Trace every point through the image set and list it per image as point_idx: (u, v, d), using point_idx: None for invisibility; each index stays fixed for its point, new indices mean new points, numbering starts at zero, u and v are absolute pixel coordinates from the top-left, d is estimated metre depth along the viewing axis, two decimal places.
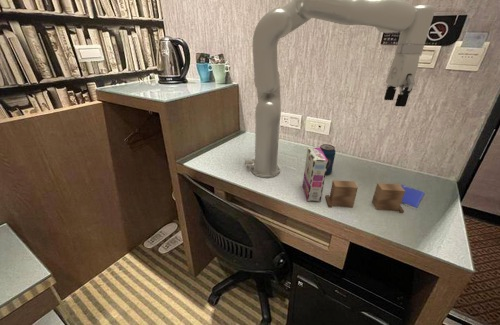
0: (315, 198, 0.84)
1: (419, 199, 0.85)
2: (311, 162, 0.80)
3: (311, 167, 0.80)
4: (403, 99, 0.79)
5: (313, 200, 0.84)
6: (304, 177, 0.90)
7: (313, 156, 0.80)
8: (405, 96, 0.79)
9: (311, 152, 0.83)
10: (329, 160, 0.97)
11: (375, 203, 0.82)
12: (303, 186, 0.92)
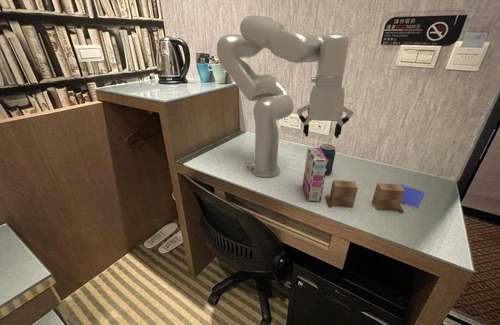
0: (315, 198, 0.84)
1: (419, 199, 0.85)
2: (311, 162, 0.80)
3: (311, 167, 0.80)
4: None
5: (313, 200, 0.84)
6: (304, 177, 0.90)
7: (313, 156, 0.80)
8: None
9: (311, 152, 0.83)
10: (329, 160, 0.97)
11: (375, 203, 0.82)
12: (303, 186, 0.92)
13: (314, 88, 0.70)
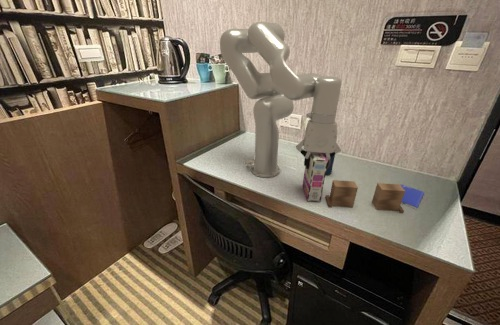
0: (316, 198, 0.84)
1: (419, 199, 0.85)
2: (311, 162, 0.80)
3: (311, 167, 0.80)
4: None
5: (313, 200, 0.84)
6: (304, 177, 0.90)
7: (313, 156, 0.80)
8: None
9: (311, 152, 0.83)
10: (329, 160, 0.97)
11: (375, 203, 0.82)
12: (303, 186, 0.92)
13: (309, 124, 0.76)
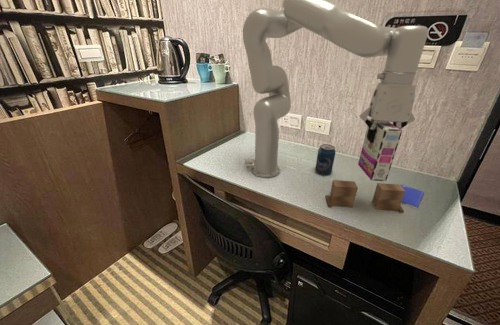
0: (381, 177, 0.71)
1: (419, 199, 0.85)
2: (379, 133, 0.68)
3: (379, 139, 0.68)
4: None
5: (378, 179, 0.72)
6: (362, 154, 0.78)
7: (382, 126, 0.68)
8: None
9: None
10: (329, 160, 0.97)
11: (375, 203, 0.82)
12: (360, 165, 0.80)
13: (381, 86, 0.64)
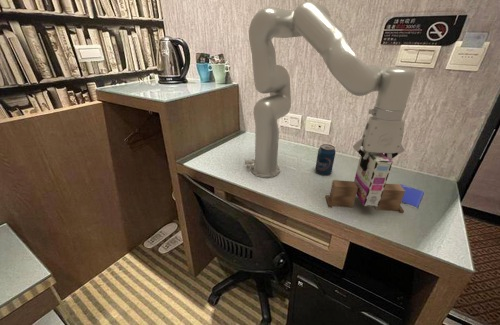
0: (373, 203, 0.76)
1: (419, 198, 0.85)
2: (371, 163, 0.72)
3: (371, 169, 0.72)
4: None
5: (370, 205, 0.76)
6: (356, 179, 0.83)
7: (374, 156, 0.72)
8: None
9: None
10: (329, 160, 0.97)
11: None
12: None
13: (373, 121, 0.68)
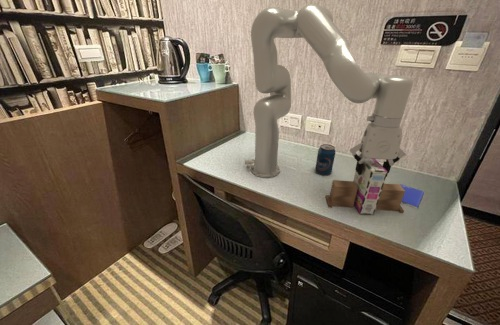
0: (369, 211, 0.78)
1: (419, 198, 0.85)
2: (367, 172, 0.74)
3: (367, 178, 0.74)
4: None
5: (366, 213, 0.78)
6: None
7: (369, 166, 0.74)
8: None
9: (365, 161, 0.77)
10: (329, 160, 0.97)
11: None
12: None
13: (371, 127, 0.69)
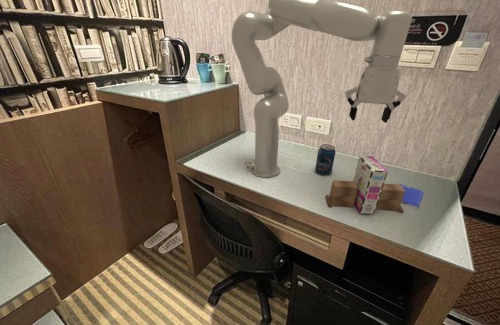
0: (369, 211, 0.78)
1: (419, 198, 0.85)
2: (367, 172, 0.74)
3: (367, 178, 0.74)
4: None
5: (366, 213, 0.78)
6: None
7: (369, 166, 0.74)
8: None
9: (365, 161, 0.77)
10: (329, 160, 0.97)
11: None
12: None
13: (368, 68, 0.68)
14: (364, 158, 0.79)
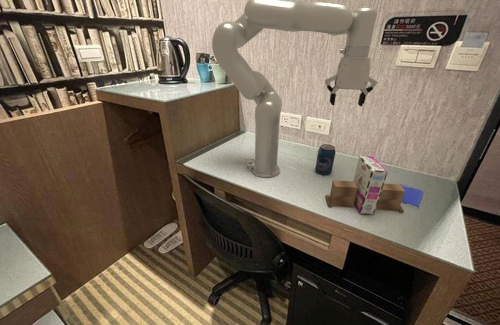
0: (369, 211, 0.78)
1: (419, 198, 0.85)
2: (367, 172, 0.74)
3: (367, 178, 0.74)
4: None
5: (366, 213, 0.78)
6: None
7: (369, 166, 0.74)
8: None
9: (365, 161, 0.77)
10: (329, 160, 0.97)
11: None
12: None
13: (343, 58, 0.78)
14: (364, 158, 0.79)
